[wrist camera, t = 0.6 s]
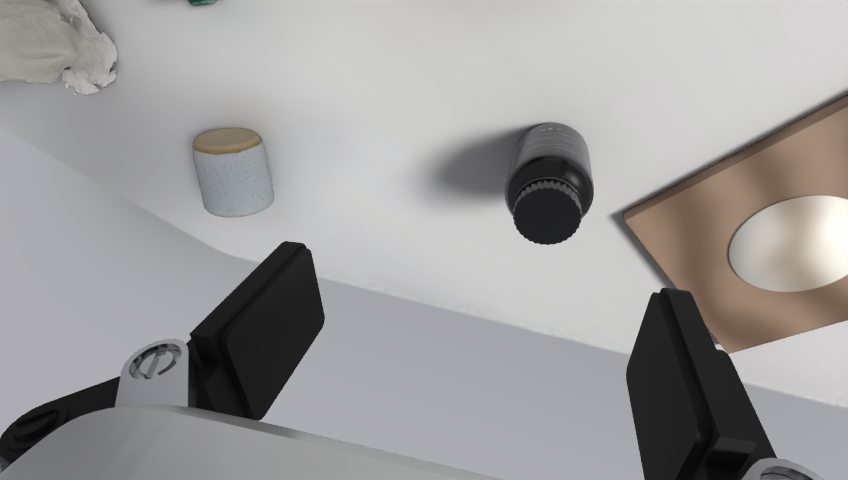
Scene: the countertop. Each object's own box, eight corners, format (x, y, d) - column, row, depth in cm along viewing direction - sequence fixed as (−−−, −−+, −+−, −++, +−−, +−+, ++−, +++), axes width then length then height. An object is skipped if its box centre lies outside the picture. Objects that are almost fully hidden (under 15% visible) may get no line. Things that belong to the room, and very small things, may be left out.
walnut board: (893, 71, 29) (908, 77, 28) (987, 264, 34) (1004, 277, 33) (623, 213, 40) (624, 221, 39) (723, 343, 45) (728, 355, 44)
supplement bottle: (587, 187, 40) (593, 260, 31) (515, 188, 42) (500, 256, 33) (591, 117, 37) (600, 174, 27) (512, 122, 39) (495, 176, 29)
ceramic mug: (275, 128, 46) (230, 154, 40) (287, 193, 51) (249, 225, 45) (194, 117, 49) (141, 141, 42) (213, 181, 53) (167, 210, 47)
